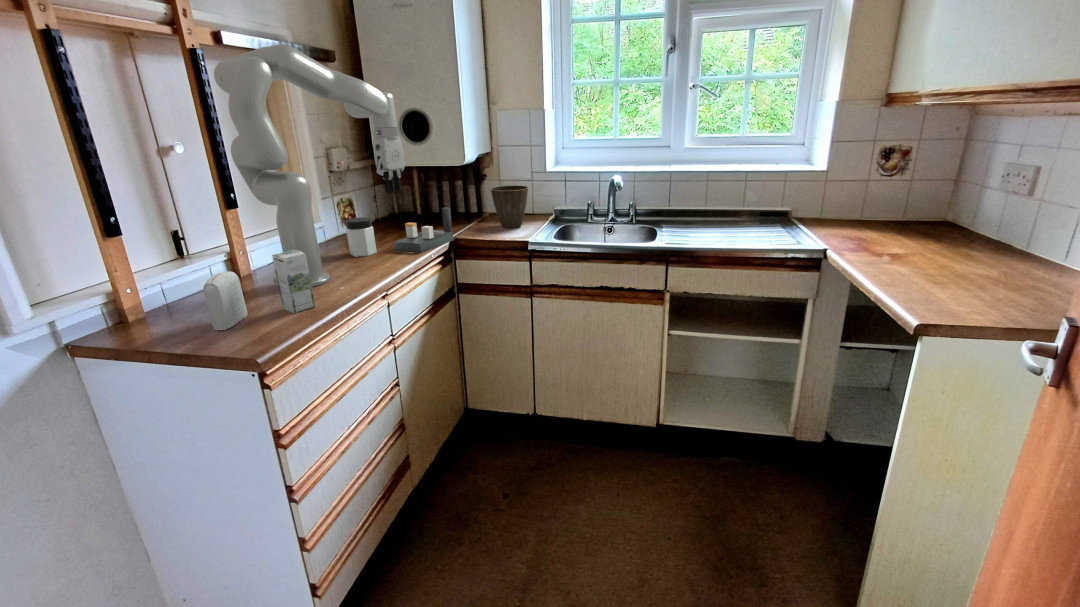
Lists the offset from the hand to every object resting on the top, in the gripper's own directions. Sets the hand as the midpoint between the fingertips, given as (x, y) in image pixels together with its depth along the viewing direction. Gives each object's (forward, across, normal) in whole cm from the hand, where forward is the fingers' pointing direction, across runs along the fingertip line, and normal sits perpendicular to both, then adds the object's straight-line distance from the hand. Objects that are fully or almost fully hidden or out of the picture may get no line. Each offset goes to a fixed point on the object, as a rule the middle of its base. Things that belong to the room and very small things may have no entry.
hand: (393, 190), depth 175 cm
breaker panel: (+21, +10, -3) cm, 23 cm away
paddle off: (+17, +6, -7) cm, 20 cm away
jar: (+21, -6, +12) cm, 25 cm away
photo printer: (+21, -68, -4) cm, 71 cm away
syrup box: (+21, -54, -12) cm, 60 cm away
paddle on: (+17, +6, 0) cm, 19 cm away
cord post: (+21, +20, -6) cm, 30 cm away
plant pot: (+21, +46, -20) cm, 54 cm away
